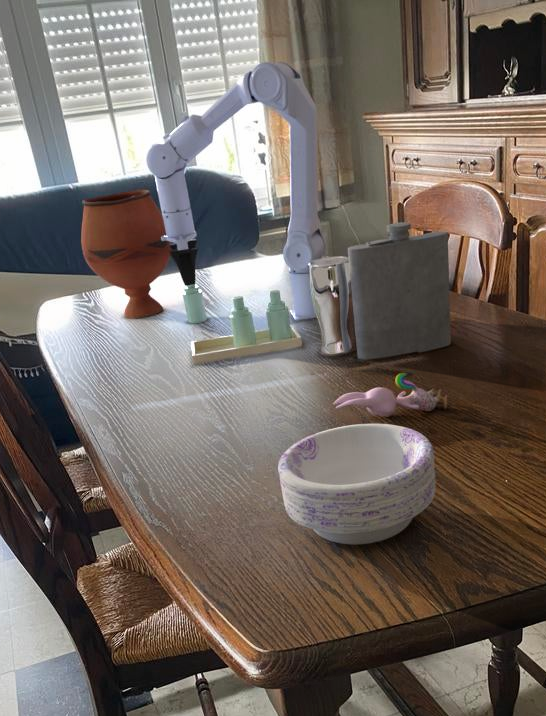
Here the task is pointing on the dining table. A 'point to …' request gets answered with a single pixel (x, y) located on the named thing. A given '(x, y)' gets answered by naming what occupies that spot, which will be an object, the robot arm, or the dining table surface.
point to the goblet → (126, 245)
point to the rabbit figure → (392, 398)
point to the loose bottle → (194, 304)
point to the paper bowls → (358, 481)
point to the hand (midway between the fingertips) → (189, 280)
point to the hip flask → (400, 293)
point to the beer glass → (333, 303)
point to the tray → (226, 350)
